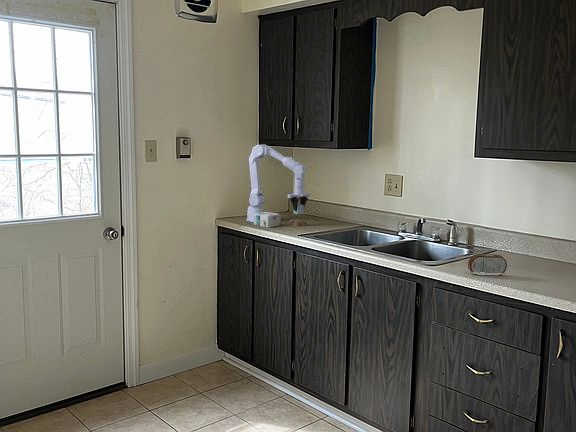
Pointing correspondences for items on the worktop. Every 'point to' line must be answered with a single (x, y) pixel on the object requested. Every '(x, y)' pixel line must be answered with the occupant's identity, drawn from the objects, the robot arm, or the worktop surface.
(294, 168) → the robot arm
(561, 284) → the worktop surface
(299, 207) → the blue block
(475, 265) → the tin
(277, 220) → the light bulb box
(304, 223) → the walnut slab
